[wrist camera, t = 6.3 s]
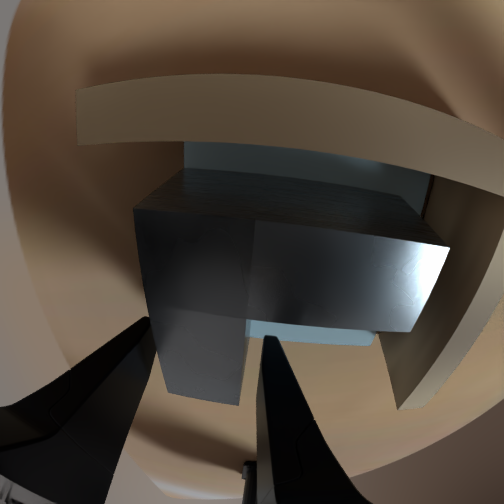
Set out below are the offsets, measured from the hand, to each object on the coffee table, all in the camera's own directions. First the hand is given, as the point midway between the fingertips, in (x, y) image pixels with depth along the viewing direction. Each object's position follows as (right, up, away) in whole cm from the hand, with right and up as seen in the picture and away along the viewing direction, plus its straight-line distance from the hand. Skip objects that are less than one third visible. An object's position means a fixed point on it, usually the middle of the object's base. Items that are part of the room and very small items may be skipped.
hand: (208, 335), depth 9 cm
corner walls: (+3, +3, +1) cm, 5 cm away
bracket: (+2, +2, +1) cm, 3 cm away
